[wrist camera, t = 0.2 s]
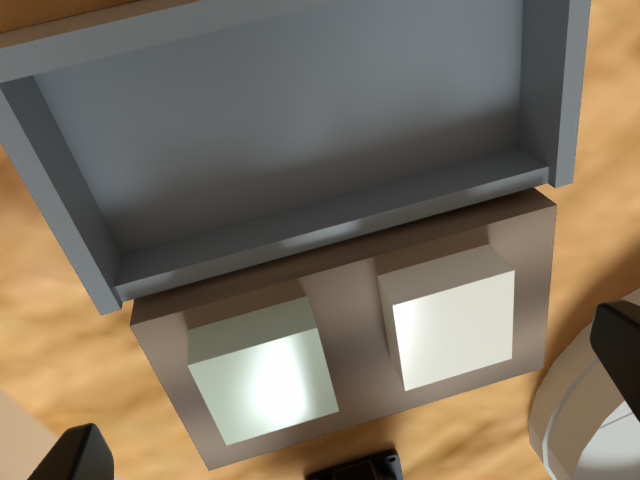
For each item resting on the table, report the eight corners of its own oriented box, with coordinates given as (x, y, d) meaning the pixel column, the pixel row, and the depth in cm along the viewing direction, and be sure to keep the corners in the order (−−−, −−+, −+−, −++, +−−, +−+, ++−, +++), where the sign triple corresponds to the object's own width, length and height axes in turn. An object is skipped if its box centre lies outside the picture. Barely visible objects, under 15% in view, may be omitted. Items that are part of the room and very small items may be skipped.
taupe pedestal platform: (504, 319, 29) (543, 367, 26) (207, 407, 28) (208, 470, 25) (507, 167, 24) (556, 204, 21) (139, 268, 23) (129, 325, 19)
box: (526, 153, 24) (596, 198, 20) (113, 266, 22) (94, 341, 18) (537, -94, 18) (636, -104, 14) (-8, 35, 17) (-75, 66, 13)
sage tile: (329, 377, 23) (339, 411, 21) (224, 408, 23) (226, 445, 21) (307, 295, 20) (317, 327, 19) (188, 330, 20) (187, 365, 18)
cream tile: (489, 329, 24) (511, 358, 22) (390, 358, 23) (404, 391, 22) (489, 243, 21) (514, 270, 19) (376, 275, 21) (392, 305, 19)
